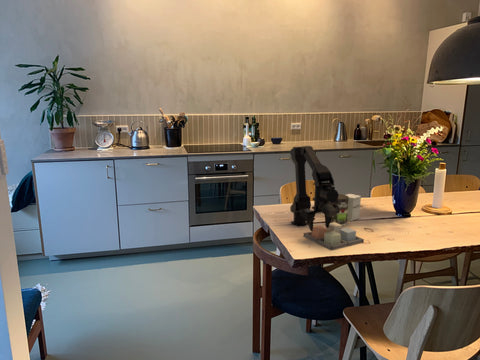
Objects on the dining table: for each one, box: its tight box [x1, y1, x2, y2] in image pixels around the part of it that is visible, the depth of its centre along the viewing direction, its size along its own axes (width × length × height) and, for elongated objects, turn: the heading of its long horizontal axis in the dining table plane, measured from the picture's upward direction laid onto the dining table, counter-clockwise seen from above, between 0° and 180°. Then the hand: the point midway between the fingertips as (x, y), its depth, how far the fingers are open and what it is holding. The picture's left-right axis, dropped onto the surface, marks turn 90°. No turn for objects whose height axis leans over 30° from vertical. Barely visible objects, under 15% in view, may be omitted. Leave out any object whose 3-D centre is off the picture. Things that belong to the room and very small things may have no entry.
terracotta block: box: [310, 225, 327, 239], centre depth 178 cm, size 5×5×5 cm
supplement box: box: [345, 193, 362, 222], centre depth 206 cm, size 7×7×13 cm
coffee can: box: [329, 193, 349, 227], centre depth 199 cm, size 10×10×14 cm
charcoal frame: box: [303, 222, 365, 251], centre depth 177 cm, size 19×19×5 cm
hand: (319, 229), depth 178 cm, fingers open, 9 cm apart
